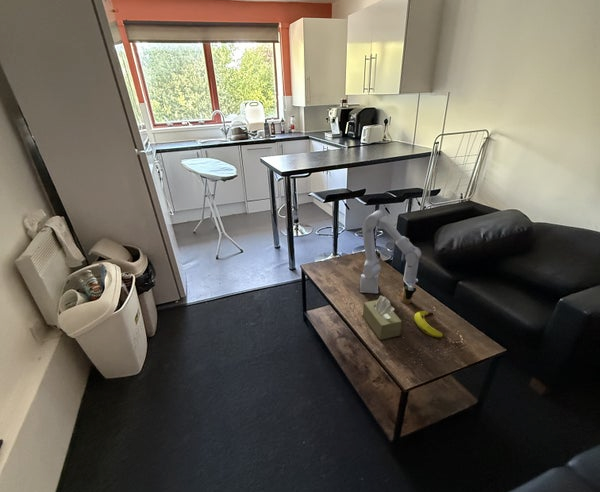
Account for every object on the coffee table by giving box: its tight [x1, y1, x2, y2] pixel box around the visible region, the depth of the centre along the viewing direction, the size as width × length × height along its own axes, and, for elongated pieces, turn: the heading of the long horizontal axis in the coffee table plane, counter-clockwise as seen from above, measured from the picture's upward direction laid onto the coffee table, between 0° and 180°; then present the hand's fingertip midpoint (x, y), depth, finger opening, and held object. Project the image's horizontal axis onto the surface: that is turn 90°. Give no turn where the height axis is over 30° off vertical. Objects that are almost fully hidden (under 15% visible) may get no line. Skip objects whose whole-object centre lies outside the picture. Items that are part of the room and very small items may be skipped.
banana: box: [413, 310, 445, 339], centre depth 146 cm, size 5×17×15 cm
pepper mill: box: [401, 286, 412, 304], centre depth 162 cm, size 5×5×9 cm
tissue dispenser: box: [362, 295, 403, 340], centre depth 144 cm, size 19×10×16 cm, turn 15°
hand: (407, 294), depth 162 cm, fingers open, 7 cm apart
